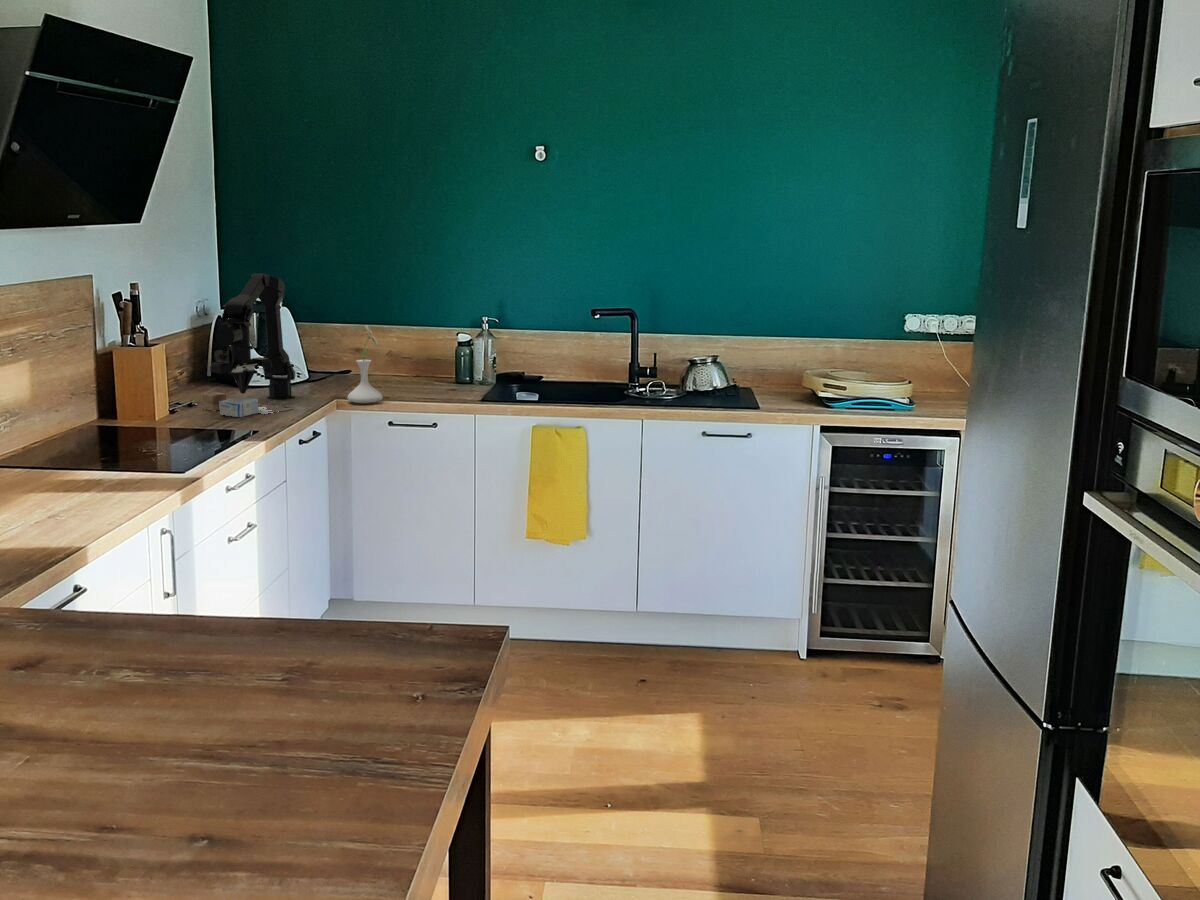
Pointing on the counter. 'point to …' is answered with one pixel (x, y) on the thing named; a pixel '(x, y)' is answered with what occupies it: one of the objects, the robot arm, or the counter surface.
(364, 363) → the flower in vase
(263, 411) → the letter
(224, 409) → the medicine box
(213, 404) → the walnut block
